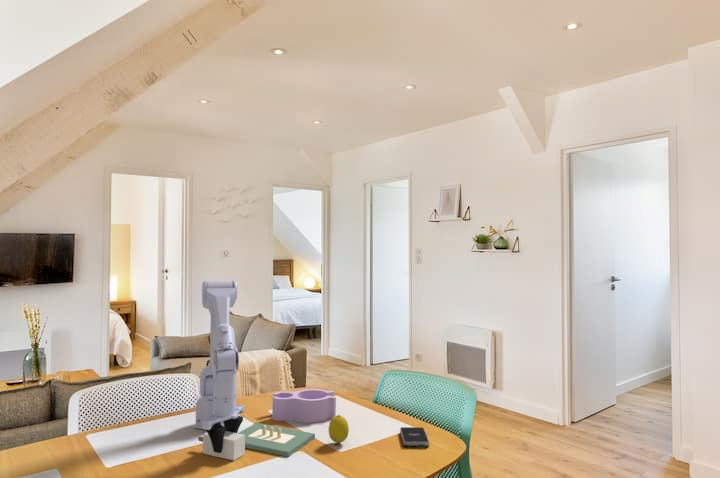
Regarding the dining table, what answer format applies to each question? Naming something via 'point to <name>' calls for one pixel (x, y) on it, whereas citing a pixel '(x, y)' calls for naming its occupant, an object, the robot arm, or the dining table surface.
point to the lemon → (338, 429)
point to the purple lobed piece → (304, 405)
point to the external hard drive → (414, 437)
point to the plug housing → (225, 445)
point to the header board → (275, 439)
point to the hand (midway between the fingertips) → (223, 448)
